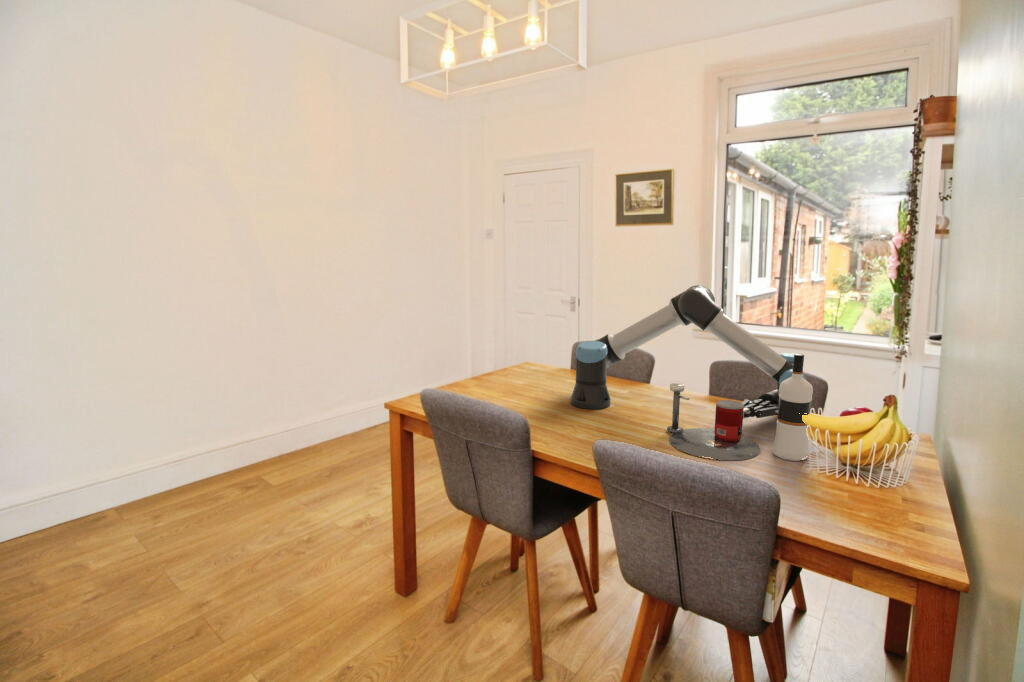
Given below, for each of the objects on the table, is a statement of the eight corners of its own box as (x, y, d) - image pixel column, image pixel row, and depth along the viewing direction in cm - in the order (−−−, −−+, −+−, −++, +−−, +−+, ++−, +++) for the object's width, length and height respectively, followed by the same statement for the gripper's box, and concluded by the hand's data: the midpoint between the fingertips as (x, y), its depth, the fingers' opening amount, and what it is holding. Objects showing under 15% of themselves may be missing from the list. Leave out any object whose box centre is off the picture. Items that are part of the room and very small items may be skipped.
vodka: (766, 455, 153) (775, 354, 148) (779, 447, 160) (788, 349, 154) (800, 465, 147) (811, 359, 141) (813, 456, 153) (823, 354, 147)
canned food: (743, 442, 163) (746, 407, 161) (716, 440, 164) (718, 406, 162) (738, 433, 170) (740, 400, 168) (712, 432, 172) (714, 399, 170)
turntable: (656, 431, 174) (656, 430, 174) (731, 427, 177) (731, 426, 177) (692, 463, 148) (692, 462, 148) (779, 457, 152) (779, 456, 152)
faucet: (663, 430, 174) (665, 384, 171) (673, 427, 177) (675, 382, 174) (682, 436, 169) (684, 389, 166) (691, 433, 172) (694, 386, 169)
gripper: (791, 417, 178) (755, 433, 164) (754, 408, 189) (716, 422, 174) (793, 396, 177) (756, 409, 163) (755, 388, 187) (718, 400, 173)
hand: (736, 416), depth 169 cm, fingers closed
